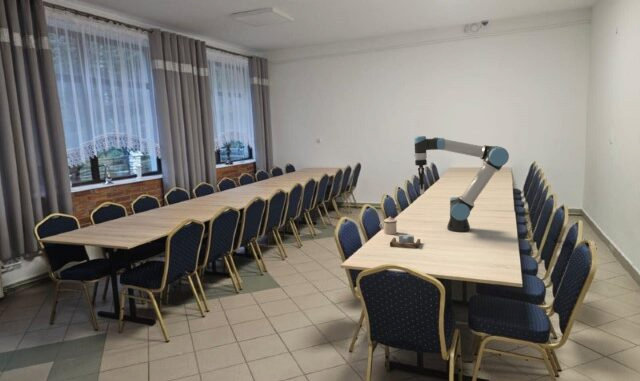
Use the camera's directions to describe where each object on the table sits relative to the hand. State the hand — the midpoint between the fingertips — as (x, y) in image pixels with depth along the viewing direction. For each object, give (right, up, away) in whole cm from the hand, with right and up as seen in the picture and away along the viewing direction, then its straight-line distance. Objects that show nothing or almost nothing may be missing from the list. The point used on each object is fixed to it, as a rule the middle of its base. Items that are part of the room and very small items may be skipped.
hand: (422, 193), depth 273 cm
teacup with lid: (-22, -28, +8) cm, 36 cm away
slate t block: (-15, -31, -19) cm, 40 cm away
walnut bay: (-16, -32, -22) cm, 42 cm away
